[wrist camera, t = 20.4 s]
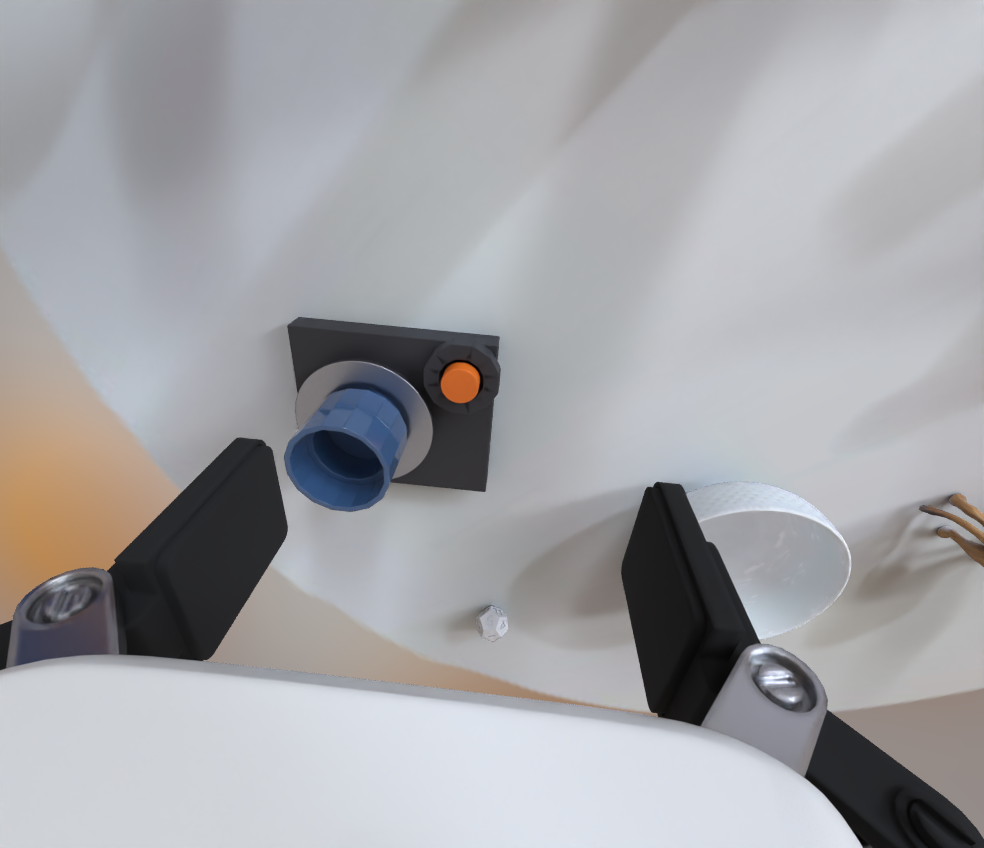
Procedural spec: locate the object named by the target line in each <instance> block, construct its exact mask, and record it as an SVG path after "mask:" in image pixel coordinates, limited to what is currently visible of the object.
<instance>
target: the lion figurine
mask: <svg viewBox="0 0 984 848" xmlns="http://www.w3.org/2000/svg"><path fill="white" fill-rule="evenodd" d="M949 502H950V503H951V504H952V505H953V506H956V507H958V508H959V509H961V510H962V511H963V512H964V513H965V514H967V515H968V516H970V517H971V518H974V519H975V520H977V521H978V522H979V523H981V524H982V525H983V527H984V514H983V513H981V512H980V511H979V510H978V509H977V508H975V507H974V506H972V505H970V504H968V503H967V502H966V497H965V496H963V495H961V494H955V495H953V496H952V497H951V498H950V499H949ZM919 510H921V511H923V512H926V513H929V514H931V515H937V516H941V517H945V518H947V519H950V520H952V521H954V522H956V523H957V524H959V525H961V526H962V527H963V528H965V529H966V530H968V531H969V532H970V533H972V534H973V535H974V536H976V537H977V538H978V539H979V540H980V541H981V542H982V543H984V533H983V532H981V531H980V530H978V529H977V528H976V527H974V526H973V525H971V524H970V523H968V522H967V521H965V520H963V519H962V518H960V517H957V516H955V515H953V514H951V513H948V512H945V511H942V510H939V509H936V508H934V507H932V506H930V505H928V506H926V505H922V506H920V507H919ZM937 534H938V535H939V536H940V537H942V538H949V537H950V538H951V539H953V540H954V541H955V542H957V543H958V544H959V545H960V547H961V548H962V549H963V550H964V551H965V552H966V553H967V554H968V555H969V556H970V557H971V558H972V559H974V560H975V561H976V562H978V563H980V564H981V565H982V566H983V567H984V546H983V545H980V544H977V543H974V542H972V541H970V540H967V539H965V538H964V537H963V536H962V535H961V534H960V533H959V532H958V531H956V530H953V529H952V528H951V527H949V526H945V527H941V528H940V529H938V531H937Z"/></svg>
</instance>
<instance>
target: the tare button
mask: <svg viewBox="0 0 984 848" xmlns="http://www.w3.org/2000/svg"><path fill="white" fill-rule="evenodd" d="M479 384H480V376H479V373H478V371H477V370H476V369H475V368H474V367H473V366H472V365H470V364H468V363H465V362H456V363H453V364H451V365H450V366H448V367H447V368H446V370H445V372H444V374H443V377H442V380H441V390H442V392H443V394H444V395H445V396H446V397H447V398H448V399H449V400H451V401H453V402H456V403H466V402H469V401H471V400H472V399H473V398H474V397H475V396H476V395H477V393H478V389H479Z"/></svg>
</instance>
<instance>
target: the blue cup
mask: <svg viewBox="0 0 984 848" xmlns="http://www.w3.org/2000/svg"><path fill="white" fill-rule="evenodd" d="M406 444H407V428H406V425H405V423H404V420H403V418H402V416H401V414H400V412H399V411H398V410H397V409H396V408H395V407H394V406H393V405H392V404H391V403H390V402H389V401H388V400H387V399H385V398H384V397H382V396H379V395H377V394H375V393H373V392H371V391H369V390H368V391H367V390H360V389H350V388H349V389H345V390H341V391H338V392H334V393H332V394H330V395H329V396H328V397H327V398H326V399H324V400H323V401H322V402H321V403H320V404H319V405H318V407H317V408H316V409H315V410H314V411H313V413H312V414H311V415H310V416H309V418H308V419H307V420H306V421H305V422H304V424H303V425H302V426H301V427H300V428H299V430H298V431H297V432H296V433H295V435H294V436H293V437H292V438H291V439H290V441H289V443H288V446H287V449H286V452H285V455H284V460H285V466H286V471H287V475H288V476H289V478H290V479H291V481H292V482H293V484H294V485H295V487H296V488H297V489H298V491H300V492H301V493H302V494H304V495H305V496H306V497H307V498H309V499H310V500H311V501H312V502H314V503H317V504H319V505H321V506H324V507H326V508H329V509H331V510H339V511H348V512H353V511H358V510H362V509H367V508H370V507H371V506H373V505H374V504H376V503H377V502H378V501H380V500H381V499H382V498H383V497H384V495H385V493H386V491H387V489H388V487H389V485H390V483H391V480H392V478H393V475H394V473H395V471H396V468H397V466H398V463H399V461H400V458H401V456H402V454H403V451H404V449H405V446H406Z"/></svg>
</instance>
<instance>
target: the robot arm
mask: <svg viewBox="0 0 984 848" xmlns="http://www.w3.org/2000/svg"><path fill="white" fill-rule="evenodd" d="M287 530H288V525H287V520H286V515H285V510H284V505H283V500H282V495H281V490H280V486H279V481H278V476H277V471H276V466H275V461H274V456H273V451H272V449H271V447H269V446H266V443H265V442H264V441H263V440H258V439H249V438H236V439H235V440H234V441H233V442H232V443H231V444H230V445H229V446H228V447H227V448H226V449H225V450H224V451H223V452H222V453H221V454H220V455H219V456H218V457H217V458H216V459H215V460H214V461H213V462H212V463H211V464H210V465H209V466H208V467H207V468H206V469H205V470H204V471H203V472H202V473H201V474H200V475H199V476H198V477H197V478H196V479H195V480H194V481H193V482H192V483H191V484H190V485H189V486H188V487H187V488H186V489H185V490H184V491H183V492H182V493H181V494H180V495H179V496H178V497H177V498H176V499H175V500H174V501H173V502H172V503H171V504H170V505H169V506H168V507H167V508H166V509H165V510H164V511H163V512H162V513H161V514H160V515H159V516H158V517H157V518H156V519H155V520H154V521H153V522H152V523H151V524H150V525H149V526H148V527H147V528H146V529H145V530H144V531H143V532H142V533H141V534H140V535H139V536H138V537H137V538H136V539H135V540H134V541H133V542H132V543H131V544H130V545H129V546H128V547H127V548H126V549H125V550H124V551H123V552H122V553H121V554H120V555H119V556H118V557H117V558H116V559H115V562H116V563H115V564H114V565H113V566H112V567H111V568H110V569H109V570H108V571H105V570H104V569H99V568H80V569H75V570H71V571H67V572H65V573H62V574H59V575H57V576H54V577H52V578H50V579H48V580H47V581H45V582H43V583H42V584H40V585H38V586H37V587H36V588H34V589H33V590H32V591H30V592H29V593H28V594H27V595H26V596H25V597H24V598H23V599H22V600H21V602H20V603H19V604H18V605H17V607H16V610H15V612H14V615H13V620H11V621H9V622H6V623H4V624H1V625H0V848H984V839H983V837H982V836H981V834H980V833H979V831H978V830H977V828H976V827H975V826H974V825H973V824H972V823H971V822H970V820H969V819H968V818H967V817H966V816H965V815H964V814H963V813H962V812H961V811H960V810H959V809H958V808H957V807H956V806H955V805H953V804H952V803H951V802H950V801H948V799H946V798H945V797H944V796H943V795H941V794H940V793H939V792H937V791H936V790H935V789H933V788H932V787H930V786H929V785H928V784H926V783H925V782H924V781H922V780H921V779H920V778H918V777H917V776H916V775H914V774H913V773H912V772H910V771H909V770H908V769H906V768H905V767H903V766H902V765H901V764H900V763H898V762H897V761H895V760H894V759H893V758H892V757H890V756H889V755H888V754H886V753H885V752H883V751H882V750H881V749H879V748H878V747H877V746H875V745H874V744H873V743H871V742H870V741H869V740H867V739H866V738H865V737H863V736H862V735H861V734H859V733H858V732H857V731H855V730H854V729H853V728H851V727H850V726H849V725H847V724H846V723H844V722H843V721H841V719H839V718H838V717H836V716H835V715H834V714H832V713H831V712H830V711H828V710H827V702H828V699H827V696H826V693H825V689H824V687H823V685H822V684H821V682H820V680H819V679H818V677H817V676H816V674H815V673H814V672H813V671H812V670H811V669H810V668H809V667H808V666H807V665H806V664H805V663H804V662H803V661H801V660H800V659H799V658H797V657H796V656H795V655H793V654H791V653H790V652H788V651H786V650H784V649H782V648H780V647H776V646H773V645H769V644H761V643H760V641H759V639H758V637H757V634H756V632H755V630H754V628H753V626H752V623H751V621H750V619H749V617H748V615H747V612H746V610H745V608H744V606H743V604H742V601H741V599H740V597H739V595H738V593H737V591H736V588H735V586H734V584H733V582H732V580H731V577H730V575H729V573H728V571H727V569H726V566H725V564H724V562H723V560H722V558H721V555H720V553H719V551H718V549H717V548H716V546H715V545H714V544H713V543H712V542H707V541H706V539H705V537H704V534H703V532H702V530H701V528H700V525H699V523H698V521H697V518H696V516H695V514H694V512H693V509H692V507H691V505H690V502H689V500H688V498H687V496H686V493H685V491H684V489H683V487H682V485H680V484H672V483H663V482H656V483H655V484H654V486H653V487H647V488H646V490H645V493H644V496H643V499H642V502H641V505H640V509H639V512H638V515H637V518H636V521H635V524H634V527H633V531H632V534H631V537H630V540H629V543H628V546H627V549H626V553H625V556H624V559H623V562H622V569H621V574H622V581H623V586H624V591H625V595H626V600H627V605H628V610H629V615H630V620H631V624H632V629H633V634H634V639H635V644H636V649H637V654H638V658H639V663H640V668H641V673H642V678H643V683H644V687H645V692H646V697H647V702H648V706H649V709H650V711H651V712H652V713H657V714H658V717H655V716H650V715H645V714H638V713H631V712H624V711H616V710H609V709H602V708H595V707H588V706H581V705H574V704H566V703H557V702H550V701H541V700H533V699H525V698H517V697H508V696H501V695H493V694H485V693H476V692H468V691H460V690H451V689H443V688H435V687H427V686H418V685H410V684H401V683H392V682H384V681H376V680H367V679H358V678H349V677H341V676H333V675H323V674H315V673H306V672H297V671H288V670H280V669H271V668H262V667H253V666H244V665H234V664H226V663H217V662H205V661H203V660H207V659H209V658H210V657H211V656H212V655H213V654H214V653H215V651H216V649H217V648H218V646H219V645H220V643H221V641H222V640H223V638H224V636H225V635H226V633H227V632H228V630H229V628H230V627H231V625H232V624H233V622H234V620H235V619H236V617H237V616H238V614H239V612H240V610H241V609H242V607H243V606H244V604H245V603H246V601H247V600H248V598H249V596H250V595H251V593H252V591H253V590H254V588H255V587H256V585H257V584H258V582H259V580H260V579H261V577H262V575H263V574H264V572H265V570H266V569H267V567H268V566H269V564H270V563H271V561H272V559H273V558H274V556H275V555H276V553H277V551H278V550H279V548H280V547H281V545H282V543H283V542H284V540H285V538H286V535H287Z"/></svg>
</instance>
